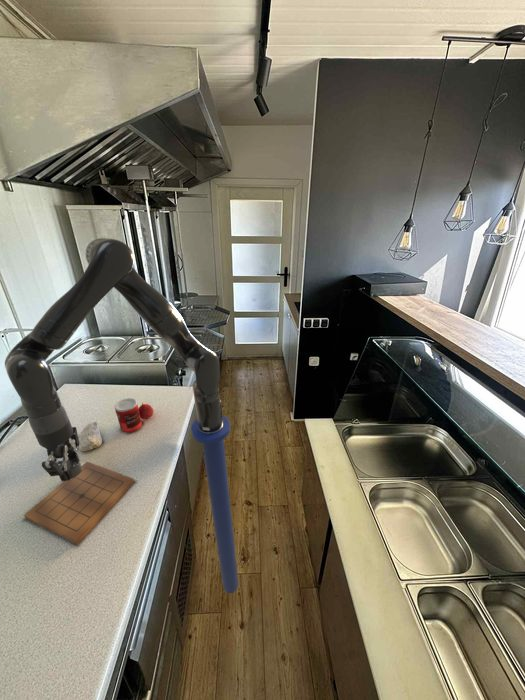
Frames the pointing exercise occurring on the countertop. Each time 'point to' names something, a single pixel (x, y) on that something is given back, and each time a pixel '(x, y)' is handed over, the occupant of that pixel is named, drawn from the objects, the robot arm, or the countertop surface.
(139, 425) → the canned food
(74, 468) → the black stone
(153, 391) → the countertop surface
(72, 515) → the grid board
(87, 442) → the stone
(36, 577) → the countertop surface
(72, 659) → the countertop surface
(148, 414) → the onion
